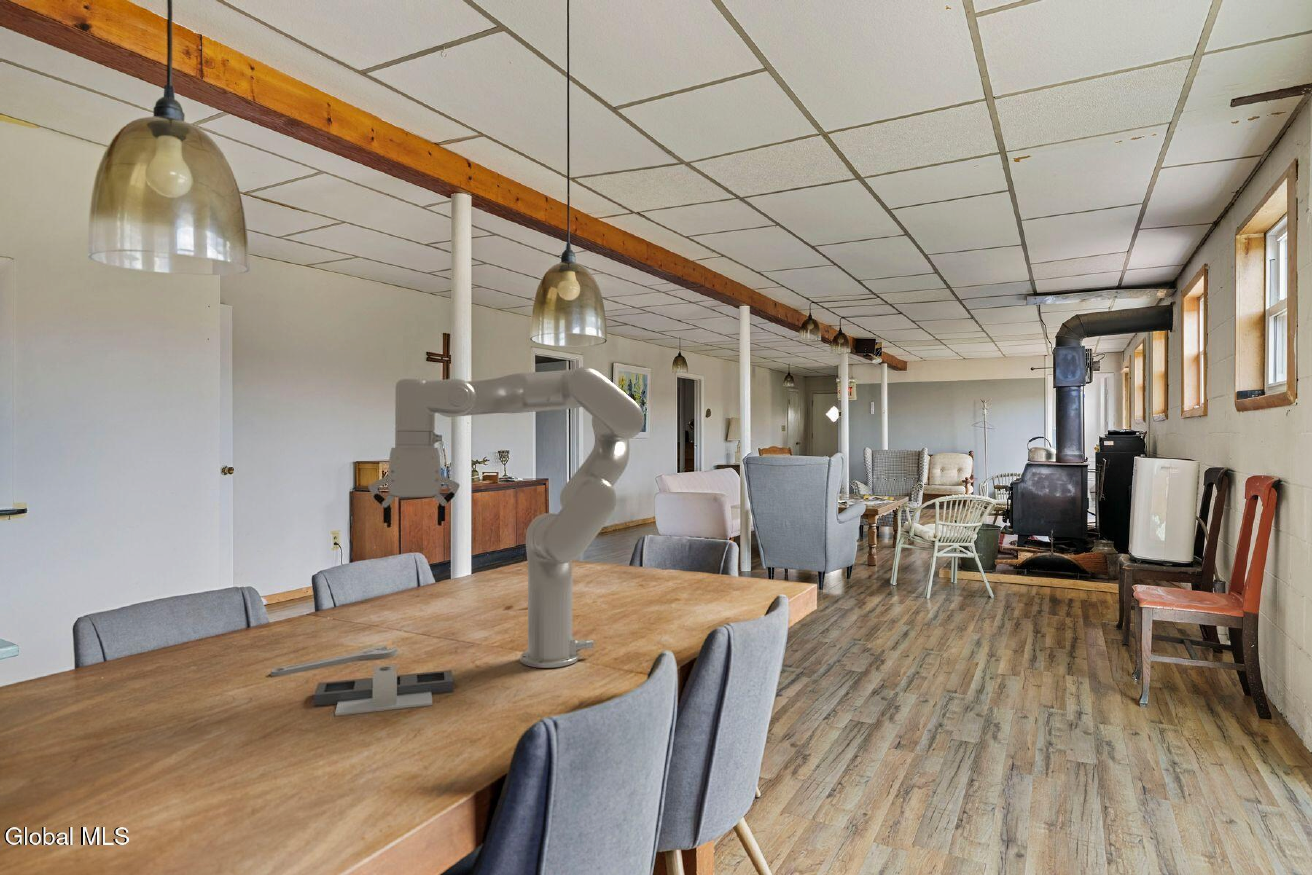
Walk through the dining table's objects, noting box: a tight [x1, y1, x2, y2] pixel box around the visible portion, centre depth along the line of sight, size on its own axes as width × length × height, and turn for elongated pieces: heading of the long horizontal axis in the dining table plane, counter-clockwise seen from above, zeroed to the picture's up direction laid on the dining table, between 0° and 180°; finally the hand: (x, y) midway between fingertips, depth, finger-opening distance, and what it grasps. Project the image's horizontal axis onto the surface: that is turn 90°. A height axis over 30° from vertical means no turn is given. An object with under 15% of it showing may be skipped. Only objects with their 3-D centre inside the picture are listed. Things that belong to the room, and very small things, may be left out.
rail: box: [313, 669, 454, 707], centre depth 136 cm, size 24×7×2 cm, turn 109°
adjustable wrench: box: [270, 645, 398, 678], centre depth 154 cm, size 25×6×2 cm, turn 127°
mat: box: [334, 692, 433, 717], centre depth 129 cm, size 16×6×1 cm, turn 109°
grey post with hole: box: [372, 664, 398, 707], centre depth 129 cm, size 4×4×6 cm
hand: (414, 526), depth 145 cm, fingers open, 9 cm apart
